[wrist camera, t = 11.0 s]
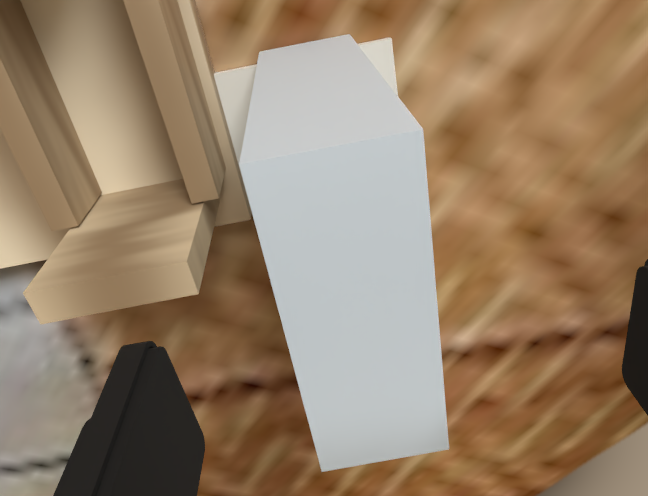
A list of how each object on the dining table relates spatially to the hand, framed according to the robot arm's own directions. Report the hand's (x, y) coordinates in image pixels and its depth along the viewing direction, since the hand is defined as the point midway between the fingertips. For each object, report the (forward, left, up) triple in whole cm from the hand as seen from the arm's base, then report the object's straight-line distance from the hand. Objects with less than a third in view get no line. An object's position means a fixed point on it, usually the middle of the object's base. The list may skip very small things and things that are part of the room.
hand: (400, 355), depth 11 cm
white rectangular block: (+1, 0, -14) cm, 13 cm away
